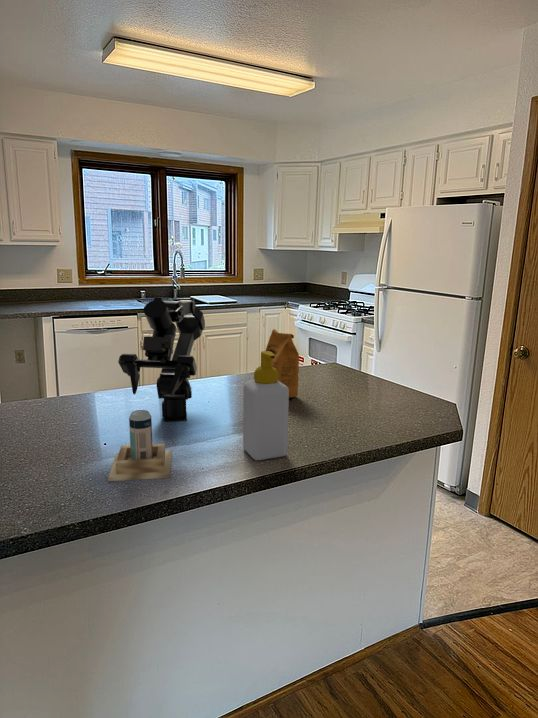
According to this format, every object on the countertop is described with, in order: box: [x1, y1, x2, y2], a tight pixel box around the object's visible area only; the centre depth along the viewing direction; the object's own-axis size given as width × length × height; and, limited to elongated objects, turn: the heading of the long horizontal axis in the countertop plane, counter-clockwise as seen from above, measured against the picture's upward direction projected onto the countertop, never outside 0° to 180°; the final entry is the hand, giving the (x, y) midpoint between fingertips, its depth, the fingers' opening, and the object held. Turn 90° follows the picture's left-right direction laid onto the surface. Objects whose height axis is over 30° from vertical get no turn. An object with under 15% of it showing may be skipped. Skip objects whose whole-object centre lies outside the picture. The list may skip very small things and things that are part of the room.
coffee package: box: [265, 328, 300, 399], centre depth 167 cm, size 10×12×22 cm
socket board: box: [107, 442, 173, 482], centre depth 114 cm, size 13×13×3 cm
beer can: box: [128, 409, 153, 460], centre depth 113 cm, size 5×5×12 cm
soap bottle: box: [242, 350, 290, 461], centre depth 120 cm, size 9×9×25 cm
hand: (152, 394), depth 123 cm, fingers open, 9 cm apart
